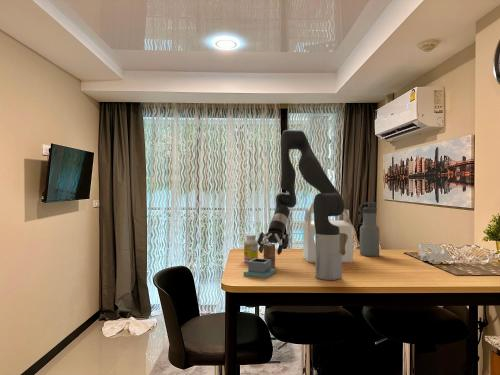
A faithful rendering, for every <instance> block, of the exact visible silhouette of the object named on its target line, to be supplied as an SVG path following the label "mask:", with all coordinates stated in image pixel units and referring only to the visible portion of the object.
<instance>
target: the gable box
mask: <svg viewBox="0 0 500 375" xmlns="http://www.w3.org/2000/svg"><path fill="white" fill-rule="evenodd" d="M313 203H314V202H313ZM313 203H311V204H310V207H309V209H305V216H304V220H303V223H302V224H303V225H302V229H303V230H302V233H303V234H302V235H303V236H302V238H303V239H302V241H303V242H302V250H303V251H302V252H303V254H302V257H303V258H304V259H305V260H306V262H307V263H316V241H315V238H314V237H315V236H316V230H315V225H314V219H312V214H314V209H313ZM329 222H330V223H331V224H333V225H336V226H338V227H339V230H340V234H339V253H341V254H342V263H354V225H353V223H352V220H351V218H350V210H349V209H345V208H344V212H343V213H342V220H341V219H340V220H339V219H331V220H330V219H329Z"/></svg>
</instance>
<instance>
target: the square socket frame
mask: <svg viewBox="0 0 500 375" xmlns="http://www.w3.org/2000/svg"><path fill="white" fill-rule="evenodd" d="M247 263H248V265H247V267H248V268H247V270H248V271H249V272H258V273H266V272H268V271H269V270H271V269H272V268H271V260H269V259H264V258H259V257H258V258H255V259H253V260H250V261H248V262H247Z"/></svg>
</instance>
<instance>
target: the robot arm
mask: <svg viewBox="0 0 500 375" xmlns="http://www.w3.org/2000/svg"><path fill="white" fill-rule="evenodd" d="M280 137H281V138H280V149H281V150H280V152H281V156H280V157H281V158H280V159H281V179H280V188H281V190H284V191H285V192H278V193H277V195H275V209H274V210H275V211H274V213H273V215H272V218H271V220H270V223H269V226H268V230H267V232H266V233H264V232H263V231H262V232H260V234H259V236H258V239H257V242H258V252H259V253H260V254H263V253H264V245H265V244H278V246H277V251H276V253H277V255H281V254H282V252H283V249H284V248H288V246H289V241H290V236H289V234H288V233H286V234H285V231H286V228H287V224H288V220H289V215H290V209H289V208H291V209H293V208H294V207H296V205H297V196H296V189H295V188H296V186H295V185H296V176H297V175H296V170H295V167H294V165H293V164H292V161H291V159H290V151H291V150H298V151H300V153H301V154H300V158H299V161H298V170H299V172H300V174H301V176H302V178H303V180H304V181H305V182H307V184H309V186H311V187H313V188H314V189H316V190H317V191H318V192H319V193H317V194H316V195H315V196H314V198H313V209H314V213H313V220H314V225H315V230H316V234H315V244H316V262H315V277H316V279H319V280H325V281H326V280H327V281H336V280H339V279H342V278H343V276H342V275H343V274H342V273H343V272H342V270H343V262H342V254H341V253H339V236H340V230H339V227H338V226H336V225H333V224H331V223H330V222H329V220H330V219H329V217H337V216H341V215H343V212H344V209H345V201H344V199H343V196H342V195H341V194H340V192H339V190H338V189H337V188H336V186H334V184H333V183H332V181H331V180H330V178H329V177H328V176H327V174H326V171H325V170H324V168H323V167H322V165H321V163H320V161H319V159H318V158H317V156H316V155H315V153H314V150H313V149H312V147H311V145H310V143H309V139H308V138H307V136H306V133H305V132H304V131H303V130H300V129H285V130H283V132H282V133H281V136H280ZM287 192H288V193H287ZM283 239H284V240H283ZM282 240H283V242H282Z"/></svg>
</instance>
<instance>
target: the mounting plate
mask: <svg viewBox="0 0 500 375" xmlns="http://www.w3.org/2000/svg"><path fill="white" fill-rule="evenodd" d="M274 274H276V268H271V270H269V271H268V272H266V273H258V272H249V271H248V269H246V270H244V271H243V276H244V275H246V277H253V278H262V279H268V278H269V277H271V276H273V275H274Z"/></svg>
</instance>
